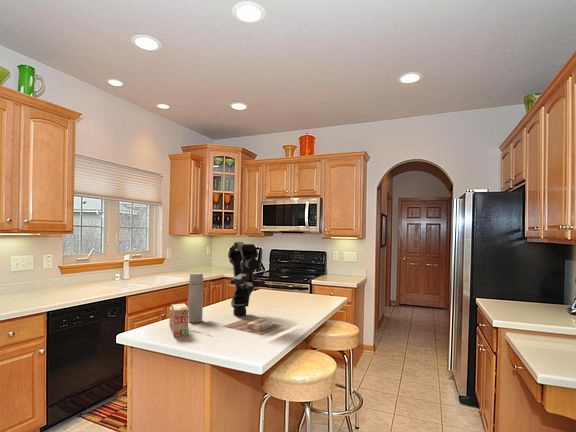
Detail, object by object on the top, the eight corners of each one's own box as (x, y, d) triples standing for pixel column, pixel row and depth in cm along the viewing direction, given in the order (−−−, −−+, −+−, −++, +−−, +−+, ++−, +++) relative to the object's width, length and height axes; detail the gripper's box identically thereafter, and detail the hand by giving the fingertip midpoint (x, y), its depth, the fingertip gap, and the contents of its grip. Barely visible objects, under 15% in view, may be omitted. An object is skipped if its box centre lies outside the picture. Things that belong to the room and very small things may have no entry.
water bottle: (205, 320, 181) (206, 273, 182) (196, 323, 174) (197, 274, 175) (192, 318, 185) (193, 272, 186) (182, 321, 178) (183, 273, 179)
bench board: (222, 329, 164) (222, 326, 164) (246, 321, 179) (246, 318, 179) (261, 338, 151) (261, 334, 151) (283, 328, 166) (283, 325, 166)
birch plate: (247, 328, 161) (247, 323, 161) (259, 323, 170) (259, 318, 170) (258, 331, 157) (258, 325, 157) (271, 326, 166) (271, 320, 166)
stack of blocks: (169, 325, 171) (169, 300, 172) (181, 324, 174) (182, 299, 174) (173, 337, 152) (174, 309, 152) (188, 335, 154) (188, 308, 155)
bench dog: (260, 330, 159) (260, 322, 159) (269, 326, 164) (269, 319, 165) (263, 330, 158) (263, 323, 158) (272, 327, 164) (272, 319, 164)
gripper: (223, 268, 173) (222, 299, 173) (252, 271, 163) (251, 303, 163) (238, 266, 183) (237, 295, 182) (265, 269, 173) (265, 300, 172)
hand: (247, 298), depth 174 cm, fingers closed
